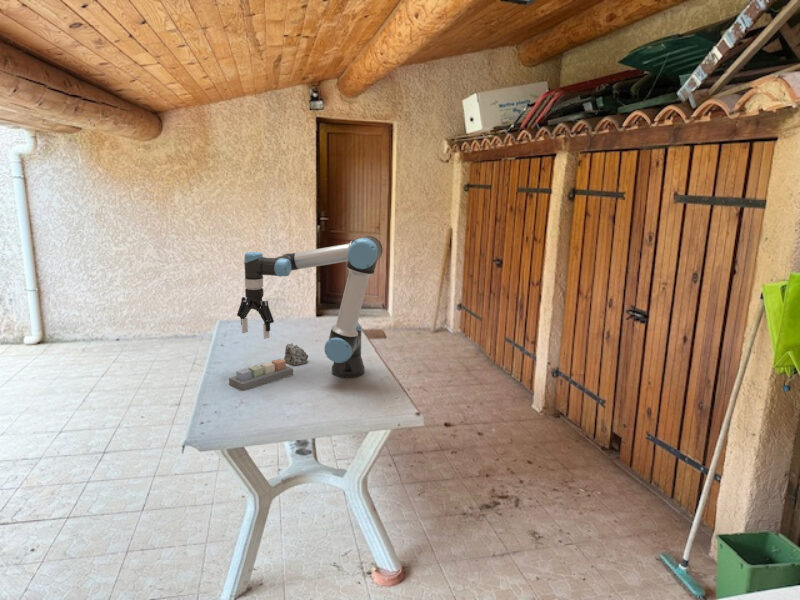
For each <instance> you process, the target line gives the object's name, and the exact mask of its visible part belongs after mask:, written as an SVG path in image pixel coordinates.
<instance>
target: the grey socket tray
mask: <svg viewBox="0 0 800 600" xmlns="http://www.w3.org/2000/svg"><path fill="white" fill-rule="evenodd" d="M293 375H294V368H293V367H290V366H287V365H286V368H285V369H282V370H279V371H277V370H275V372H272V373H269V374H265V373H263V375H262V376H259V377H256V378H254V377H251V379H249V380H246V381H243V382H242V381H240V380H238V379H236V375H235V376H231V377H228V384H229V386H231V387H234V388H236V389H237V390H239V391H241V392H243V391H244V392H245V391H246V390H250V389H254V388H256V387H260V386H263V385H267V384H268V383H269V384H270V383H272V382H275V381H280V380H282V379H284V378H287V377H291V376H293Z"/></svg>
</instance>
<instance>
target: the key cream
mask: <svg viewBox="0 0 800 600" xmlns="http://www.w3.org/2000/svg"><path fill="white" fill-rule="evenodd" d="M259 366H260V367H263V373H265V374H269V373H272V372H275V364H273V363H272V362H270V361H267V362H263V363H260V364H259Z"/></svg>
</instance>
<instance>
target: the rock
mask: <svg viewBox="0 0 800 600" xmlns="http://www.w3.org/2000/svg"><path fill="white" fill-rule="evenodd" d="M284 351H285V352H284V357H283V360H284V361H286V364H288V365H292V366H293V365H294V366H298V365H305V364H307V363H308V358H309V354H307V352H306V351H305V349H303V348H302V347H300V346H298V344H295V345H294V343H293V342H292V343H288V344H286V346H285V350H284Z"/></svg>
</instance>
